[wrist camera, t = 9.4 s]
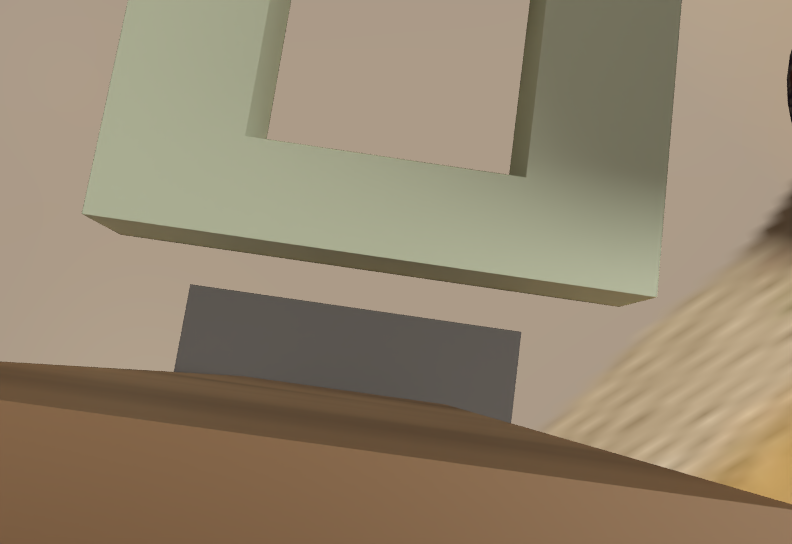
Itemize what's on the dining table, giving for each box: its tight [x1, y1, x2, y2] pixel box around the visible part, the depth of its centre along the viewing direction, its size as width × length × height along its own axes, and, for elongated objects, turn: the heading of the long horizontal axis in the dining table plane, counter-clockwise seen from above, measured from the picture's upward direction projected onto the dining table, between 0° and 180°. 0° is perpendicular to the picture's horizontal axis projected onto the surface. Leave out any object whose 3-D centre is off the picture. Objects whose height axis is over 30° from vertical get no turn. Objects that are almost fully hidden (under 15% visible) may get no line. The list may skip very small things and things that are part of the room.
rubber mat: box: [174, 285, 521, 423], centre depth 18 cm, size 9×9×1 cm
